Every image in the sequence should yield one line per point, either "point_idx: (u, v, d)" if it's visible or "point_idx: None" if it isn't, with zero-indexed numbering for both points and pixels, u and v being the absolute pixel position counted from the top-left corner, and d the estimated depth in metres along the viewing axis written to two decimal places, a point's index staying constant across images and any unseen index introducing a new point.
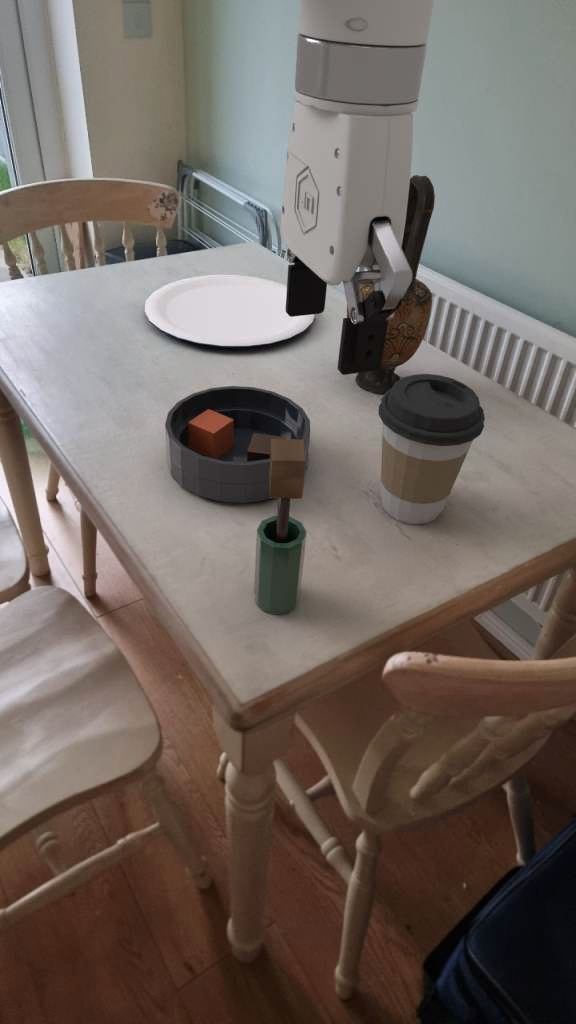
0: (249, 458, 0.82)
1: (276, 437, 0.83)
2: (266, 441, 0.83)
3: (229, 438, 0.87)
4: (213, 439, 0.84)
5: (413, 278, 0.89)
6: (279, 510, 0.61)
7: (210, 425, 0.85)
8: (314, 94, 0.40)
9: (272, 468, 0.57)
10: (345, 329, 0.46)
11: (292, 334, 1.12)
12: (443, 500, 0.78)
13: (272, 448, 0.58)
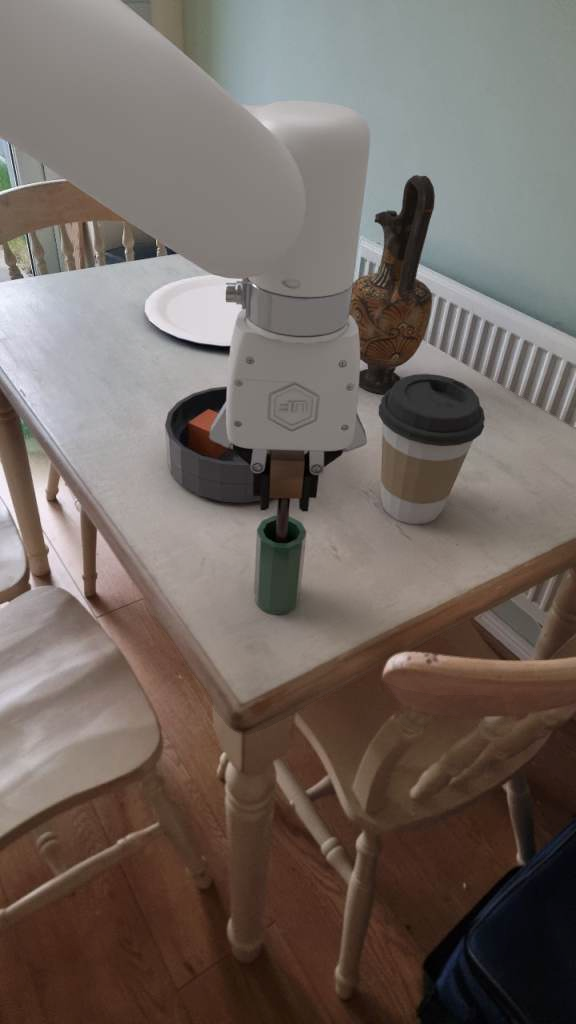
0: None
1: None
2: None
3: None
4: None
5: (413, 278, 0.89)
6: (278, 510, 0.61)
7: (210, 425, 0.85)
8: (320, 333, 0.48)
9: (271, 468, 0.57)
10: (310, 482, 0.58)
11: None
12: (443, 500, 0.78)
13: None
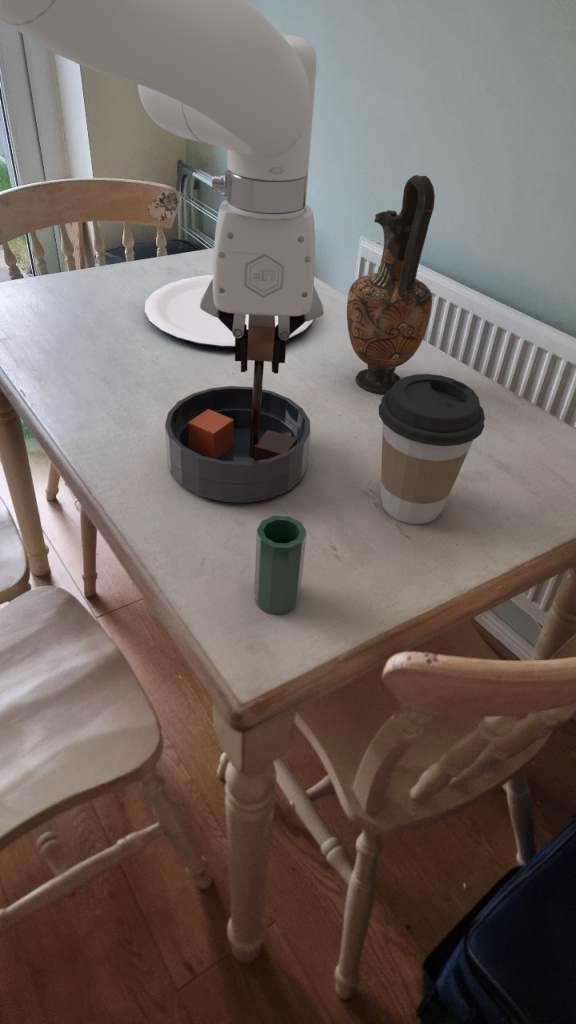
0: (256, 453, 0.82)
1: (288, 437, 0.84)
2: (276, 439, 0.83)
3: (229, 438, 0.87)
4: (213, 439, 0.84)
5: (413, 278, 0.89)
6: (254, 374, 0.77)
7: (210, 425, 0.85)
8: (282, 211, 0.64)
9: (249, 333, 0.73)
10: (279, 346, 0.74)
11: (292, 334, 1.12)
12: (443, 500, 0.78)
13: (249, 319, 0.74)
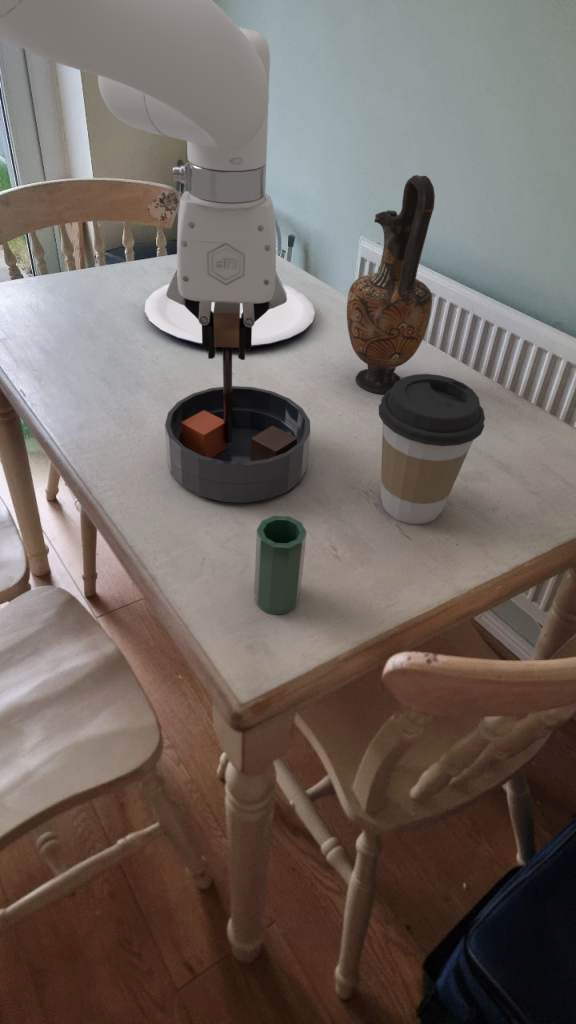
0: (252, 446, 0.84)
1: (288, 435, 0.84)
2: (275, 436, 0.84)
3: (222, 440, 0.86)
4: (204, 440, 0.83)
5: (413, 278, 0.89)
6: (223, 360, 0.79)
7: (202, 426, 0.84)
8: (241, 201, 0.65)
9: (214, 320, 0.75)
10: (244, 333, 0.76)
11: (292, 334, 1.12)
12: (443, 500, 0.78)
13: (215, 306, 0.76)
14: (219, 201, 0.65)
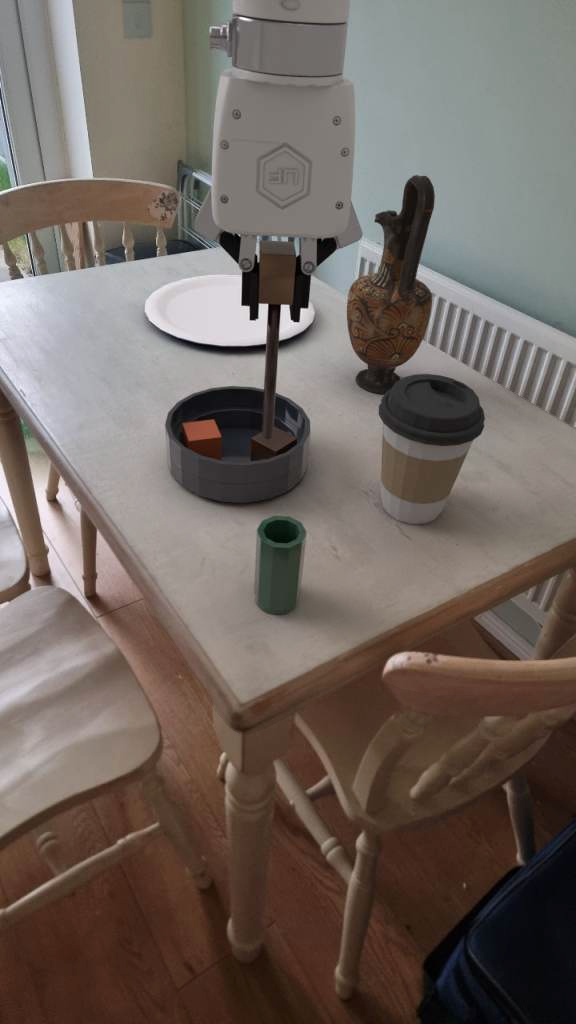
0: (252, 446, 0.84)
1: (288, 435, 0.84)
2: (275, 436, 0.84)
3: (214, 454, 0.84)
4: (188, 446, 0.82)
5: (413, 278, 0.89)
6: (268, 324, 0.57)
7: (195, 432, 0.83)
8: (312, 74, 0.44)
9: (261, 264, 0.53)
10: (302, 283, 0.55)
11: (292, 334, 1.12)
12: (443, 500, 0.78)
13: (260, 246, 0.54)
14: (281, 73, 0.44)
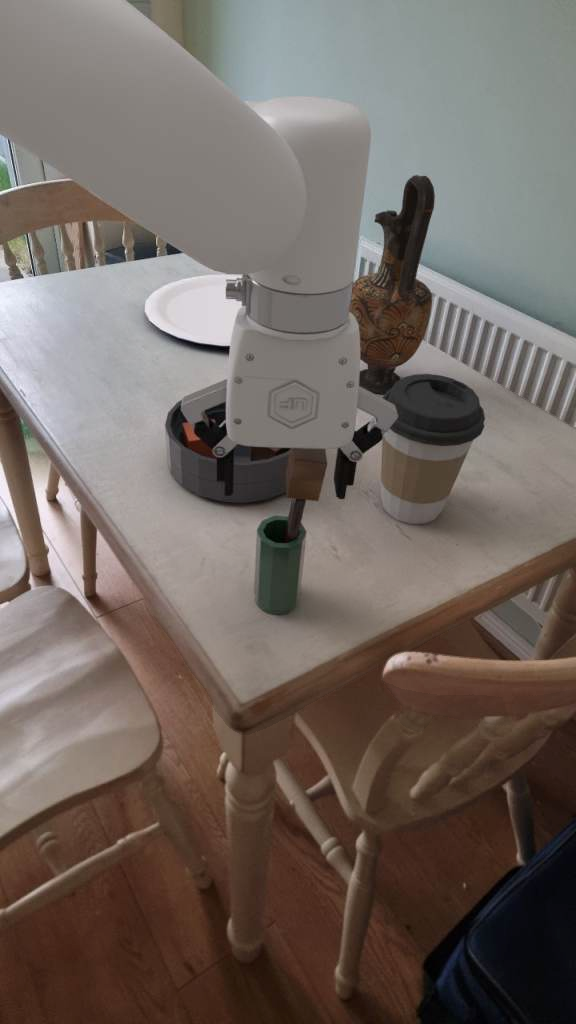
0: (252, 446, 0.84)
1: None
2: None
3: None
4: (188, 446, 0.82)
5: (413, 278, 0.89)
6: (293, 511, 0.61)
7: None
8: (320, 330, 0.47)
9: (293, 468, 0.57)
10: (348, 469, 0.57)
11: None
12: (443, 500, 0.78)
13: (294, 448, 0.58)
14: (291, 331, 0.47)
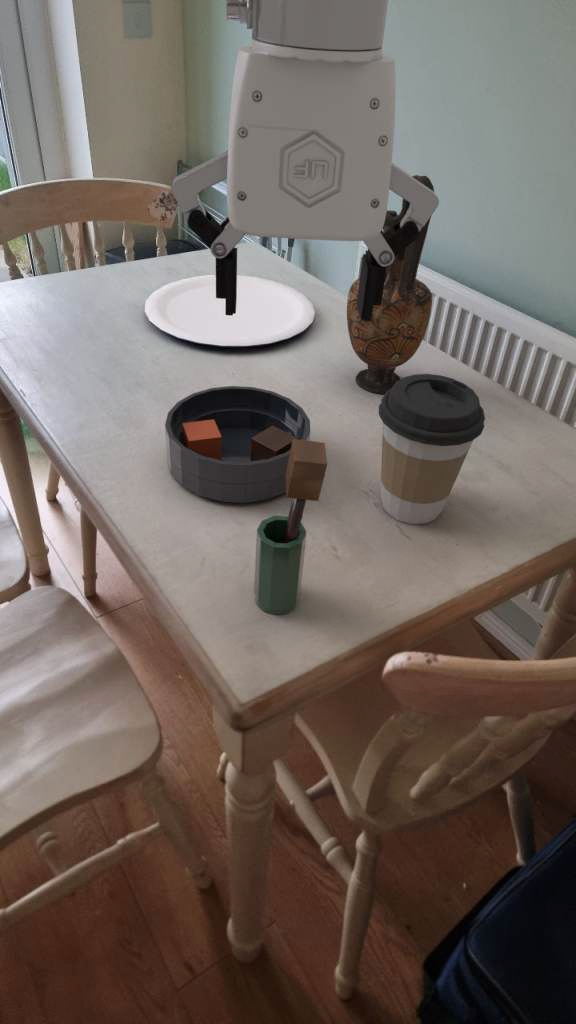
0: (252, 446, 0.84)
1: (288, 435, 0.84)
2: (275, 436, 0.84)
3: (214, 454, 0.84)
4: (188, 446, 0.82)
5: (413, 278, 0.89)
6: (293, 511, 0.61)
7: (195, 432, 0.83)
8: (348, 47, 0.37)
9: (293, 468, 0.57)
10: (376, 276, 0.47)
11: (292, 334, 1.12)
12: (443, 500, 0.78)
13: (294, 448, 0.58)
14: (310, 46, 0.37)
